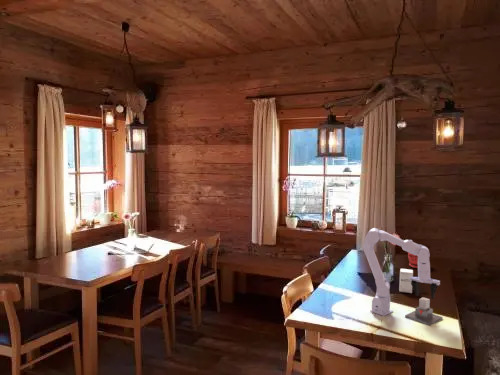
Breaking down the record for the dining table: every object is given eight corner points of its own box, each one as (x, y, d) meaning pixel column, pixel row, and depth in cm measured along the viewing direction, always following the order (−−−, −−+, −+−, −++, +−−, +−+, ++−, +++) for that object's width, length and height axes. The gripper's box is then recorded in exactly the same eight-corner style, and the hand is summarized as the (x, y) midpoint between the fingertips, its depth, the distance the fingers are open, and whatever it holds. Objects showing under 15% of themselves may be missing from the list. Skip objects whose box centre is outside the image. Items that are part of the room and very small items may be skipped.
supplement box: (399, 291, 249) (399, 271, 248) (399, 288, 256) (400, 268, 255) (412, 293, 246) (413, 272, 245) (412, 289, 253) (413, 269, 252)
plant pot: (429, 267, 303) (430, 251, 302) (421, 270, 294) (421, 253, 293) (413, 263, 313) (413, 247, 312) (404, 266, 304) (404, 250, 303)
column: (425, 317, 207) (426, 300, 206) (418, 315, 210) (419, 298, 209) (429, 315, 210) (430, 299, 209) (422, 313, 212) (423, 297, 212)
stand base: (429, 325, 201) (430, 315, 200) (405, 317, 211) (405, 307, 210) (442, 318, 209) (443, 309, 209) (418, 311, 219) (418, 301, 219)
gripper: (406, 270, 211) (407, 296, 212) (436, 274, 201) (437, 301, 202) (411, 267, 216) (413, 292, 217) (440, 270, 206) (441, 297, 207)
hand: (425, 296), depth 210 cm, fingers open, 7 cm apart
